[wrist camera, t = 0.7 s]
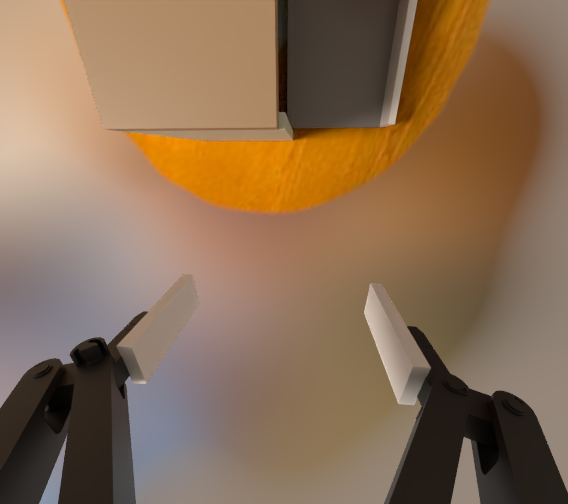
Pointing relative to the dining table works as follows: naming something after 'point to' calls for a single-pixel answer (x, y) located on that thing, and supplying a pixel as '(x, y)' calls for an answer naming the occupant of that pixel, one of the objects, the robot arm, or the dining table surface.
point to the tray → (347, 61)
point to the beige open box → (183, 67)
